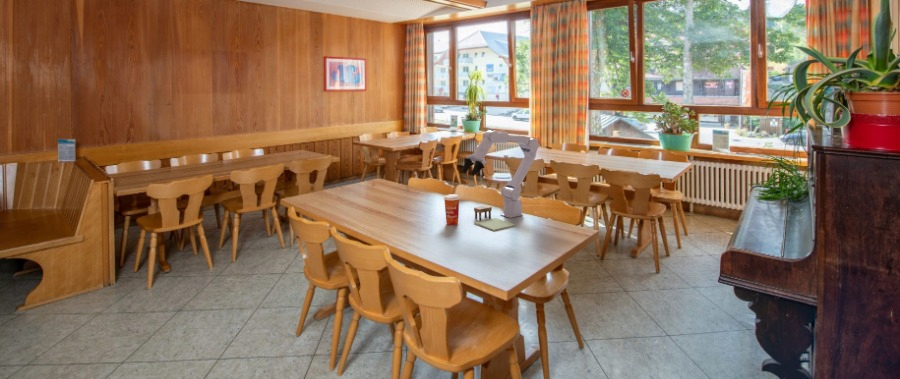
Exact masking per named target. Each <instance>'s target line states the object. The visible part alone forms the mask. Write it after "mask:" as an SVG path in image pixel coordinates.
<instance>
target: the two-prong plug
mask: <svg viewBox="0 0 900 379" xmlns="http://www.w3.org/2000/svg"><path fill="white" fill-rule="evenodd" d="M492 207H493V206H489V205H480V206H476V207H473V211H474V219H476V220H477V219H478V221H482V213H484V218H487V217H488V219H492ZM487 213H488V214H487Z"/></svg>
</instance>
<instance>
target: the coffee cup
mask: <svg viewBox="0 0 900 379" xmlns="http://www.w3.org/2000/svg"><path fill="white" fill-rule="evenodd" d="M460 199H461V198H460V196H459V195H458V194H454V193H453V194H452V193H451V194H446V195H444V197H443V200H444V211H445V212H444V213H445V220H446V225H447V226H450V225H454V226H458V225H459V217H460V216H459V214H460V213H459V212H460V210H459V209H460Z"/></svg>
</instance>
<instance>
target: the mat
mask: <svg viewBox="0 0 900 379" xmlns="http://www.w3.org/2000/svg"><path fill="white" fill-rule="evenodd" d="M474 225H475V226H480V227H482V228H484V229H486V230H489V231H493V232H497V231H500V230H505V229H509V228H514V227H516V225H517V224H515V223H513V222H512V223H511V222H509V221H506V220H503V219H500V218H497V217H494V218H488V219H484V220H478V221H476V222H474Z"/></svg>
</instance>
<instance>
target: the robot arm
mask: <svg viewBox="0 0 900 379" xmlns="http://www.w3.org/2000/svg"><path fill="white" fill-rule="evenodd" d="M508 142H513V143H514V142H517V145H518V146H519V147H520V150H521V151H522V153H523V155H524V157H523V158H522V160H521V162H520V164H519V166H518V168H517V169H516V171H515V173H514V175H513V176H512V179H511V180H510V181H508V182H507V183H506V184H505V185H504V186H503V187H502V188H501V191H500V194H501V196H502V197H503V198H502V199H503V213H500V216H503V217H505V218H509V219H511V218H515V217H519V216H523V213H522V212H523V211H522V209H523V207H522V206H523V204H522V203H523V202H522V200H521V199H520V196H521V192H522V187H521V184H522V183H523V181H524V179H525V177H526V175H528V172H529V170H530V169H531V166H532V165H533V162H534V161H535V159H536V156H537V151H538V150H539V147H540V145H539V141H538V139H537V138H532V137H530V136H525V135H520V134H519V135H517V134H513V135H512V134H509V133H508V132H506V130H501V131H498V130H493V131H492V130H487V131H485V132H483V133H482V139H481V141H480V142H479V144H478V146H477V148H476V149H475V151H474V152H473V153H472V154H470V155H467V156H466V157H464V163H463V167H462V170H461V172H462V173H464V174H466V173H467V172H468V171H469V169H470V168H472V166H473V168H472V170H471V172H470V175H471V176H472V177H475V176H476V175H477V174H478V173H479V172H480V171H482V170H484V169H485V166H486V164H487V162H488V161H487V160H485V158H486V156H487V154H488V153H489V150H491V148H492V145H494V144H496V143H498V144H499V143H500V144H506V143H508Z"/></svg>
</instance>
